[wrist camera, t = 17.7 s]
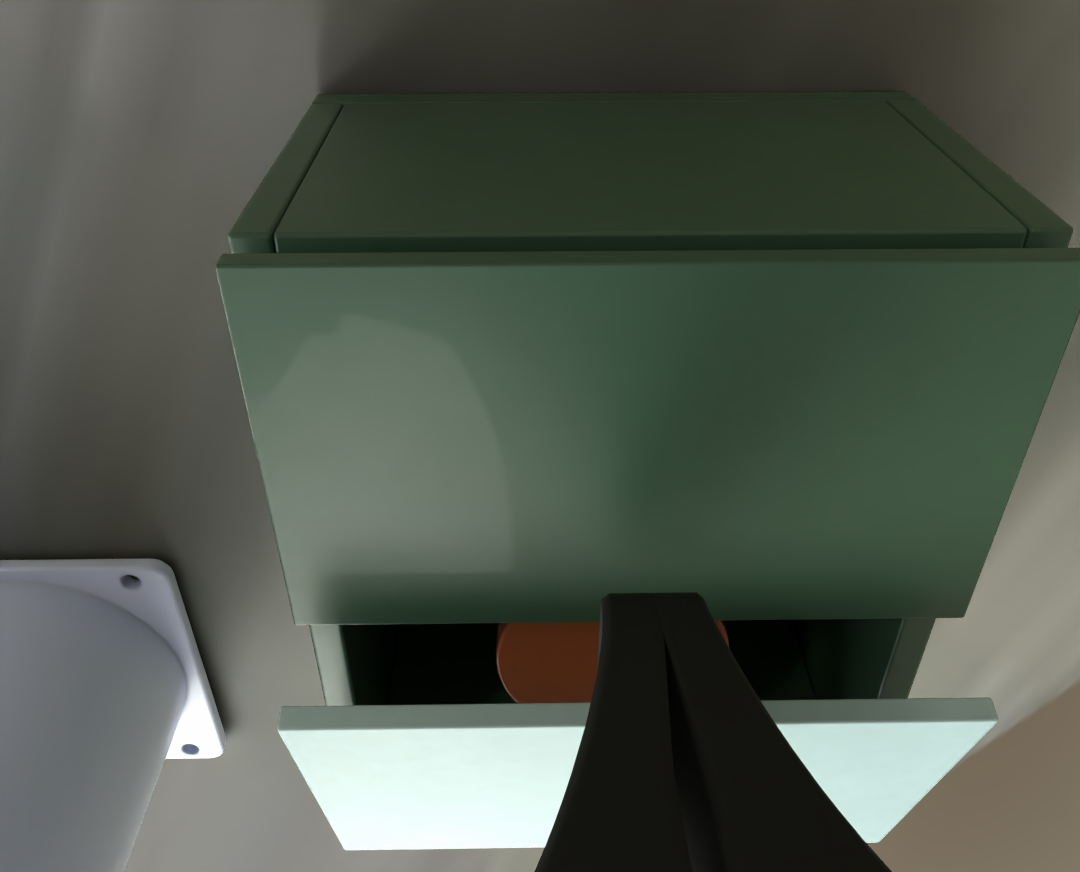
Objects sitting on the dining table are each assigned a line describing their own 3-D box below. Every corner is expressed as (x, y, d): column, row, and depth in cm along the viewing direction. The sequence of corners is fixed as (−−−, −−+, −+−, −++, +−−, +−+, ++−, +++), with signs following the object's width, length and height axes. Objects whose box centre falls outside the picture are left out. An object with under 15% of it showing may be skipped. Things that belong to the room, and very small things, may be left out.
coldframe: (796, 588, 25) (881, 843, 19) (385, 592, 25) (342, 850, 19) (906, 90, 18) (1107, 253, 12) (317, 93, 17) (208, 260, 11)
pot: (502, 573, 24) (498, 736, 20) (497, 425, 21) (492, 578, 17) (683, 572, 24) (717, 734, 20) (701, 423, 21) (744, 575, 17)
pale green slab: (874, 822, 19) (879, 843, 19) (346, 830, 19) (344, 850, 19) (991, 696, 14) (1000, 721, 14) (280, 704, 14) (275, 730, 14)
